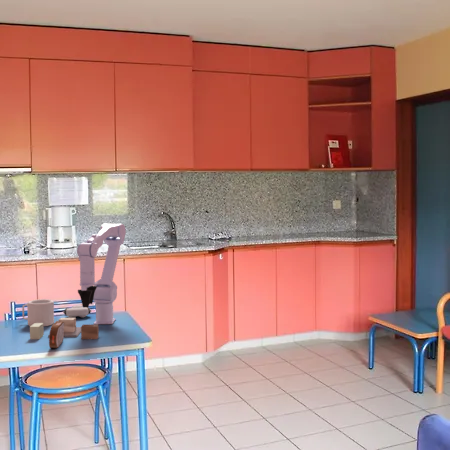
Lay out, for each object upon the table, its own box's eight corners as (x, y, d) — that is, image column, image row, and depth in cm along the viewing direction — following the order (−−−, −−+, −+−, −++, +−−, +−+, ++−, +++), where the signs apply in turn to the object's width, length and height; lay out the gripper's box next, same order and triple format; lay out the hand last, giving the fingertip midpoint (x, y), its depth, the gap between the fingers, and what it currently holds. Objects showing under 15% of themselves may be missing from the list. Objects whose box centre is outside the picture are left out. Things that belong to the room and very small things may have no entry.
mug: (58, 321, 252) (57, 299, 252) (48, 327, 242) (47, 304, 241) (28, 321, 254) (27, 298, 253) (17, 327, 243) (16, 303, 242)
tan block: (61, 330, 234) (61, 317, 234) (76, 330, 234) (75, 317, 234) (58, 332, 231) (58, 319, 230) (73, 332, 230) (73, 319, 230)
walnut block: (83, 337, 226) (83, 324, 226) (98, 337, 226) (98, 324, 226) (81, 339, 223) (81, 326, 222) (96, 339, 223) (96, 326, 223)
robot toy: (63, 315, 269) (63, 320, 255) (63, 305, 269) (63, 309, 255) (90, 314, 273) (91, 318, 258) (90, 304, 273) (91, 308, 258)
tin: (57, 340, 222) (57, 318, 221) (65, 340, 222) (65, 318, 221) (48, 351, 207) (47, 327, 206) (57, 351, 207) (56, 327, 206)
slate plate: (56, 329, 239) (56, 327, 238) (83, 329, 239) (83, 327, 239) (48, 337, 226) (48, 335, 226) (76, 337, 226) (76, 335, 226)
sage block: (30, 339, 223) (29, 326, 223) (34, 335, 229) (34, 323, 229) (39, 339, 223) (38, 326, 223) (43, 335, 229) (43, 323, 229)
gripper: (93, 274, 228) (94, 308, 228) (100, 270, 242) (100, 302, 243) (75, 274, 227) (76, 308, 228) (83, 270, 242) (83, 302, 243)
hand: (87, 305), depth 235 cm, fingers open, 7 cm apart
